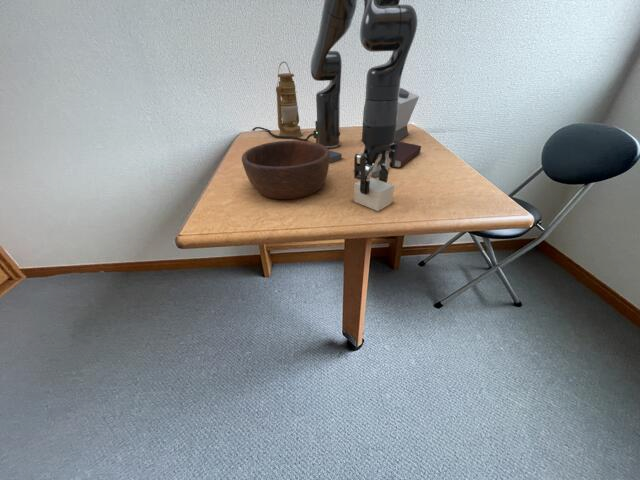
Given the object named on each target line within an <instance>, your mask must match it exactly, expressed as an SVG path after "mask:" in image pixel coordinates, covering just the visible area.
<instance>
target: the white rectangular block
mask: <svg viewBox="0 0 640 480" xmlns="http://www.w3.org/2000/svg"><path fill="white" fill-rule="evenodd" d="M393 195H394V192H393V193H391V194H389V195H387V196H385V197H384V198H382V199H380V200H378V199H376V198H373V197H370V196H368V195H365V194H362V193H360V192H357V191H355V190H354V192H353V202H355V203H357V204H359V205H362V206H365V207H367V208H369V209H372V210H374V211H376V212H379V211H381V210H383V209H384V208H386V207H388V206H389V205H392V202H393V197H394V196H393Z"/></svg>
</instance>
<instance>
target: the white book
mask: <svg viewBox="0 0 640 480" xmlns="http://www.w3.org/2000/svg"><path fill="white" fill-rule="evenodd" d="M394 190H395V185H394V184H392V183H390V182H387V183H386V182H383V181H380V180H379V179H377V178H375V177H370V186H369V194H367V195H368V196H370V197H373V198H376V199H378V200H380V199H382V198H384V197H385V196H387V195H389V194H391V193H393V194H394ZM354 191H357V192H360V180H358V181H357V182H355V183H354ZM360 193H361V192H360Z"/></svg>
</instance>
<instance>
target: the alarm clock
mask: <svg viewBox="0 0 640 480" xmlns="http://www.w3.org/2000/svg"><path fill="white" fill-rule="evenodd" d="M419 98H420V96H419V95H418V94H416V93H413V92H411V91H409V90H407V89H405V88H402V87H401V86H400V90H399V98H398V117H397V125H396V133H395V141H397V142H399V141H400V140H402V139H403V138H405V137H406V136H408V135H409V129H408V124H409V121H410V120H411V118H412V116H413V113H414V110H415V108H416V106H417V103H418V100H419Z"/></svg>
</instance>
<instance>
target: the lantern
mask: <svg viewBox="0 0 640 480" xmlns="http://www.w3.org/2000/svg"><path fill="white" fill-rule="evenodd" d="M284 63H285V65H286V66H287V69H288V72H285V73H280V68H281V65H282V64H284ZM294 77H295V74H294V73H291V70H290V66H289V64H288V62H287V61H281V62H280V63H279V65H278V70H277V78H278V82H276V83H277V85H276V87H275V92H276V111H277V128H278V130H279V136H292V137H298V138H300V137H301V136H302V131H301V126H300V125H299V123H300V116H299V106H298V100H297V93H298V92H297V90H296V83H295V80H294Z"/></svg>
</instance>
